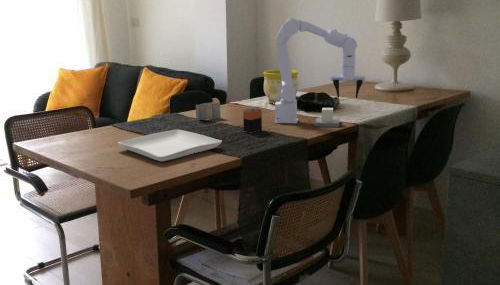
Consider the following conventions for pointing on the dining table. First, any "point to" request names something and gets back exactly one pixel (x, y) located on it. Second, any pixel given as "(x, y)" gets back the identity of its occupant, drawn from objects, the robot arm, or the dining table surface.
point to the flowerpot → (276, 84)
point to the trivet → (327, 123)
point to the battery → (252, 119)
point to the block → (327, 114)
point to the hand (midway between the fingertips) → (347, 97)
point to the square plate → (170, 144)
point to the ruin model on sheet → (208, 110)
